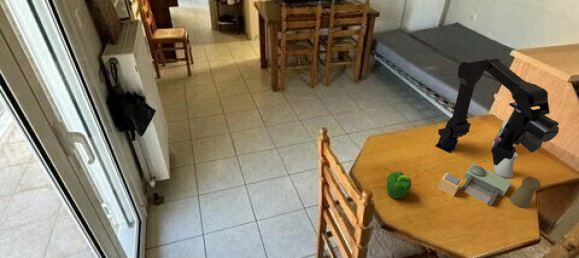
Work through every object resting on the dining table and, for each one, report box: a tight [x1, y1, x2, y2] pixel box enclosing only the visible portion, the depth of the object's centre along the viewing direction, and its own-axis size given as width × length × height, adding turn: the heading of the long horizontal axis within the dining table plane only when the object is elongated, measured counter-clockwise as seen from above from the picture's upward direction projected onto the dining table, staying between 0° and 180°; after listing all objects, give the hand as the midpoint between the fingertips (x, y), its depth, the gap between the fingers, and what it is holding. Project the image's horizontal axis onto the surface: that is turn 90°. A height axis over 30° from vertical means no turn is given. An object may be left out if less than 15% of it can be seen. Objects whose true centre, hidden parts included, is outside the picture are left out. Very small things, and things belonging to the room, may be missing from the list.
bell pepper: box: [386, 171, 412, 199], centre depth 114 cm, size 8×8×10 cm
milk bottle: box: [491, 116, 516, 148], centre depth 131 cm, size 8×8×20 cm
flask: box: [492, 151, 519, 179], centre depth 122 cm, size 7×7×10 cm
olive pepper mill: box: [509, 176, 542, 209], centre depth 110 cm, size 6×6×11 cm
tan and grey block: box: [437, 172, 463, 197], centre depth 117 cm, size 6×4×6 cm
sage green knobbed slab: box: [463, 163, 512, 197], centre depth 120 cm, size 14×7×4 cm, turn 46°
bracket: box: [460, 175, 500, 207], centre depth 116 cm, size 10×8×2 cm
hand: (498, 158), depth 113 cm, fingers open, 9 cm apart
